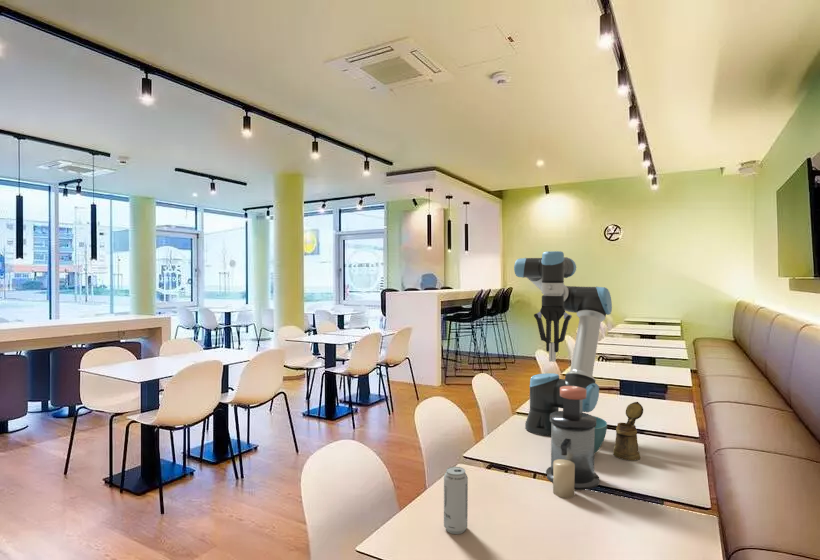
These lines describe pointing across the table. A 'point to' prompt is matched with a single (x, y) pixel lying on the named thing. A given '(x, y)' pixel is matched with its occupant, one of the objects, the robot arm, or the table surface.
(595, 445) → the teal bowl
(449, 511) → the energy drink can
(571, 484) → the beige rounded cylinder
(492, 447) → the table surface
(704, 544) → the table surface
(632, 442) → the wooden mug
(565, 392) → the pump head
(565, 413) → the airpot
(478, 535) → the table surface
